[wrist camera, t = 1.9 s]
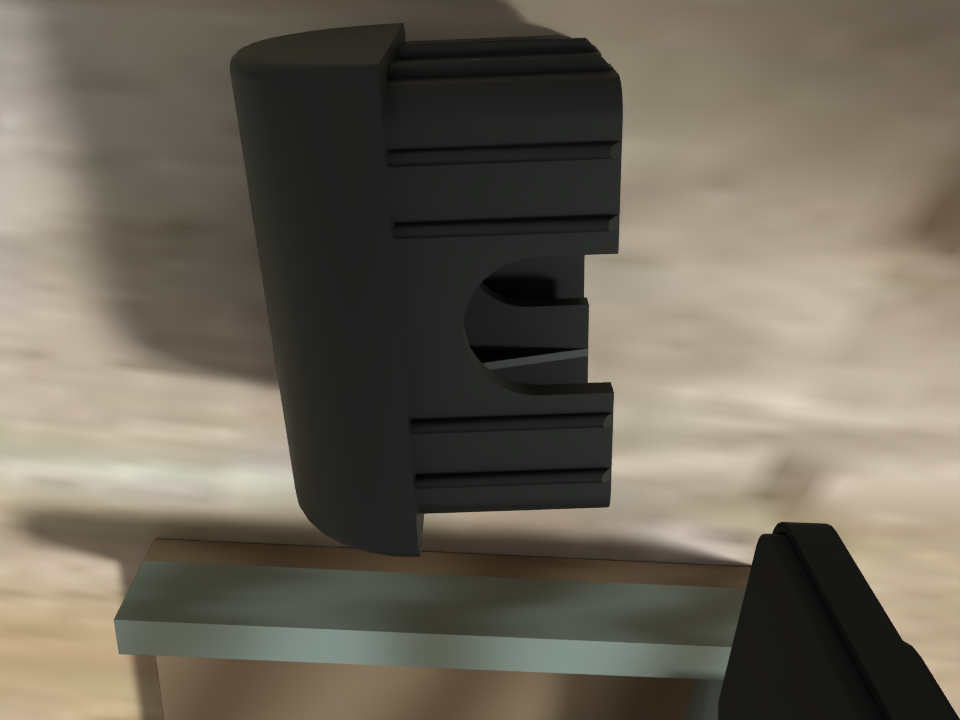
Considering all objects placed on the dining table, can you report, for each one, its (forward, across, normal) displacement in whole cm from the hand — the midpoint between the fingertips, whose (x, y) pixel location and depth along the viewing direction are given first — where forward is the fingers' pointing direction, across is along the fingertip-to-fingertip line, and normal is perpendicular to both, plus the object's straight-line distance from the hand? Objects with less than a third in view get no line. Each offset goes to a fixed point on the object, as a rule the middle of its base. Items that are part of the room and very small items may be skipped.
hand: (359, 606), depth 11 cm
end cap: (+14, -1, 0) cm, 14 cm away
